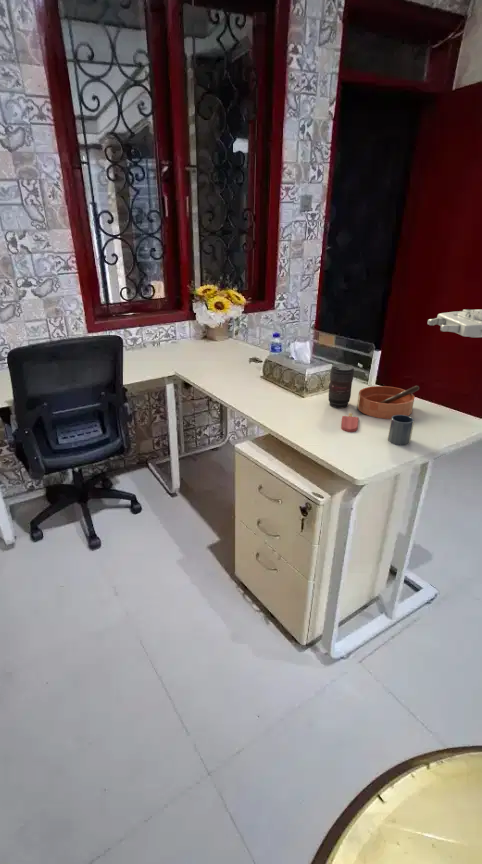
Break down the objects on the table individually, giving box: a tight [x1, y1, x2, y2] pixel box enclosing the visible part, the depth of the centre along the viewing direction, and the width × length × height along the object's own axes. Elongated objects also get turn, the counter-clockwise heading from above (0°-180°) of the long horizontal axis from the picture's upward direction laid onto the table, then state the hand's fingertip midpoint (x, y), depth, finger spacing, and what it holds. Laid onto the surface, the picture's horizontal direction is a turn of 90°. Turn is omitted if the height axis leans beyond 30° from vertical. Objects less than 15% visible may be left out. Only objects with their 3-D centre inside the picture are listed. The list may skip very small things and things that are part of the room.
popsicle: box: [340, 412, 360, 433], centre depth 141 cm, size 5×2×15 cm
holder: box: [387, 415, 415, 446], centre depth 126 cm, size 6×6×8 cm
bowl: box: [356, 385, 416, 420], centre depth 149 cm, size 18×18×6 cm
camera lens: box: [328, 363, 355, 409], centre depth 153 cm, size 8×8×15 cm
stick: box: [379, 385, 420, 404], centre depth 148 cm, size 2×2×16 cm
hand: (434, 325), depth 136 cm, fingers open, 8 cm apart
